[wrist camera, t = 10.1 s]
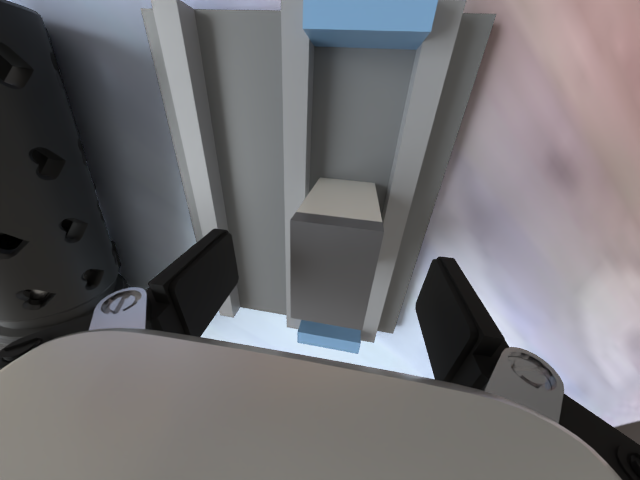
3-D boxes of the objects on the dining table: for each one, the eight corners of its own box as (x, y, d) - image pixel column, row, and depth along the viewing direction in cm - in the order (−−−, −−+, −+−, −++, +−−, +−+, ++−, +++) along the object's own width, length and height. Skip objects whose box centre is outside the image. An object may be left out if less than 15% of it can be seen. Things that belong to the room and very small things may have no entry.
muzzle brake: (104, 31, 16) (-249, -86, 7) (163, 310, 29) (75, 395, 20) (-21, 2, 16) (-517, -147, 7) (95, 291, 30) (-19, 366, 21)
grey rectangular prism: (320, 177, 17) (289, 220, 10) (374, 182, 16) (384, 231, 9) (315, 247, 20) (290, 317, 13) (362, 253, 19) (362, 330, 12)
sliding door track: (154, 15, 14) (88, -18, 11) (486, 21, 12) (536, -18, 9) (215, 295, 26) (193, 323, 23) (391, 325, 24) (396, 361, 20)
